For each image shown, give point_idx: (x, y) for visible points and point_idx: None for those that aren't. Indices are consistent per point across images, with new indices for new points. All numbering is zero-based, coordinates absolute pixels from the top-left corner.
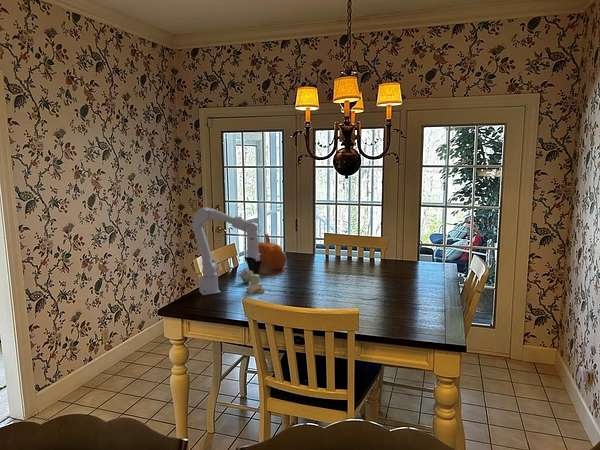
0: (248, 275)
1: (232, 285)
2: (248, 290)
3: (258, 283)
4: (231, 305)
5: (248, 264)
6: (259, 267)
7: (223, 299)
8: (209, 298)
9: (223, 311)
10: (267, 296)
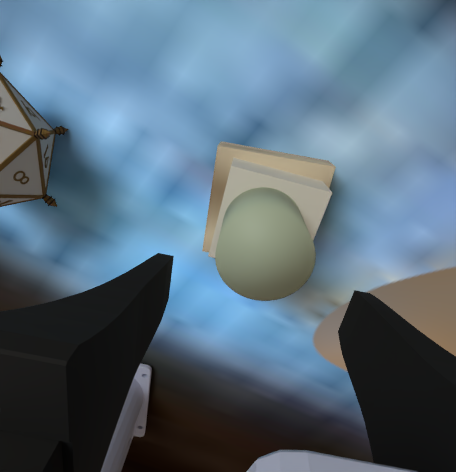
0: (20, 168)
1: (36, 252)
2: None
3: (301, 214)
4: None
5: (136, 368)
6: (436, 344)
7: (268, 400)
8: (206, 430)
9: None
10: (432, 201)
